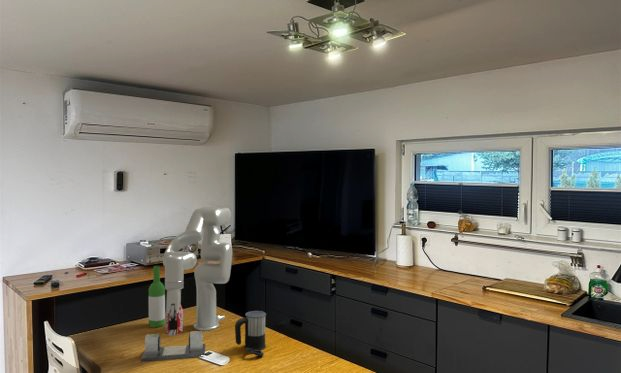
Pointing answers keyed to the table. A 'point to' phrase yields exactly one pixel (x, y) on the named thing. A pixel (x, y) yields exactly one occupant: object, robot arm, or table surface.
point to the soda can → (179, 323)
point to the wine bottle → (156, 301)
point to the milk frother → (252, 332)
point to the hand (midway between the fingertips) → (174, 326)
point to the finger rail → (173, 348)
